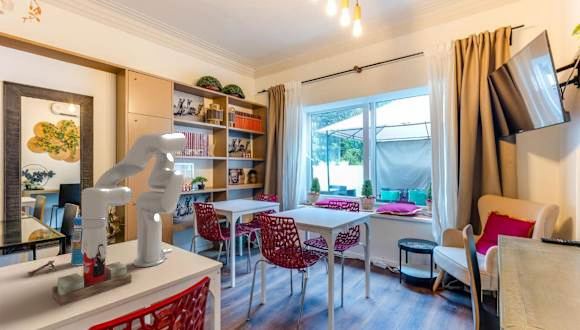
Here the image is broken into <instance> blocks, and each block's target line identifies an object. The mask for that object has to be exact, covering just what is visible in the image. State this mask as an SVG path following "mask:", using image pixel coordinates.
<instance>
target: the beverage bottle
mask: <svg viewBox="0 0 580 330" xmlns="http://www.w3.org/2000/svg"><path fill="white" fill-rule="evenodd" d="M73 226H74V228H73V229H72V230H71V233H70V235H71V238H70V243H71V245H70V246H71V253H70V254H71V258H70V264H71V265H72V266H77V267H78V266H79V267H80V266H83V254H82V253H81V244H82V232H83V229H82V215H81V216H77V217H74V218H73Z"/></svg>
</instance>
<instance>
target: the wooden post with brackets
mask: <svg viewBox="0 0 580 330" xmlns="http://www.w3.org/2000/svg"><path fill="white" fill-rule="evenodd" d="M54 262H55V260H48V263H46V264H44V265H42V266H39V267H38V268H36V269H34V270H32V271H27V275H28V276H29V277H32V276H33V275H34V274H36V273H37V272H39V271H41V270H43V269H45V268H47V267H50V268H48V269H47V270H45V271H44V274H48V273H49V272H51V271H53V270H54V271H57V270H58V269H57V268H56V266H55V265H54Z"/></svg>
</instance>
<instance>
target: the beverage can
mask: <svg viewBox="0 0 580 330" xmlns="http://www.w3.org/2000/svg"><path fill="white" fill-rule="evenodd" d="M96 256H100V255H99V254H96ZM96 259H97V260H98V259H100V258H96ZM105 265H106V263H105V264H104V275H103V276H100V277H96V278H93V266H94V260H93V258H92V259H90V258H88V257H87V254H86V253H85V252H84V254H83V265H82V266H83V267H82V268H83V271H82V277H83V278H84V284H86V285H95V284H98V283H100V282H102V281H103V280H104V279H105Z"/></svg>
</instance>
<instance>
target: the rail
mask: <svg viewBox="0 0 580 330" xmlns="http://www.w3.org/2000/svg"><path fill="white" fill-rule="evenodd" d="M127 269H128V268H127V265H125V264H124V263H121V262H120V261H116V262H113V263H109V264H105V279H104V280H103V281H102V282H100V283H98V284H95V285H86V284H84V278H83V276H81V274H79V273H77V272H75V273H72V274H68V275H63V276H60V277H57V285H55V286H52V297H53V299H55V300H56V301H57V303H58V304H59V305H60V306H66V305H69V304H72V303H74V302H77V301H81V300H83V299H86V298H89V297H92V296H95V295H98V294H101V293H104V292H107V291H109V290H113V289H116V288H119V287H122V286H125V285H128V284H130V283H132V273H128V274H127Z"/></svg>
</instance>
